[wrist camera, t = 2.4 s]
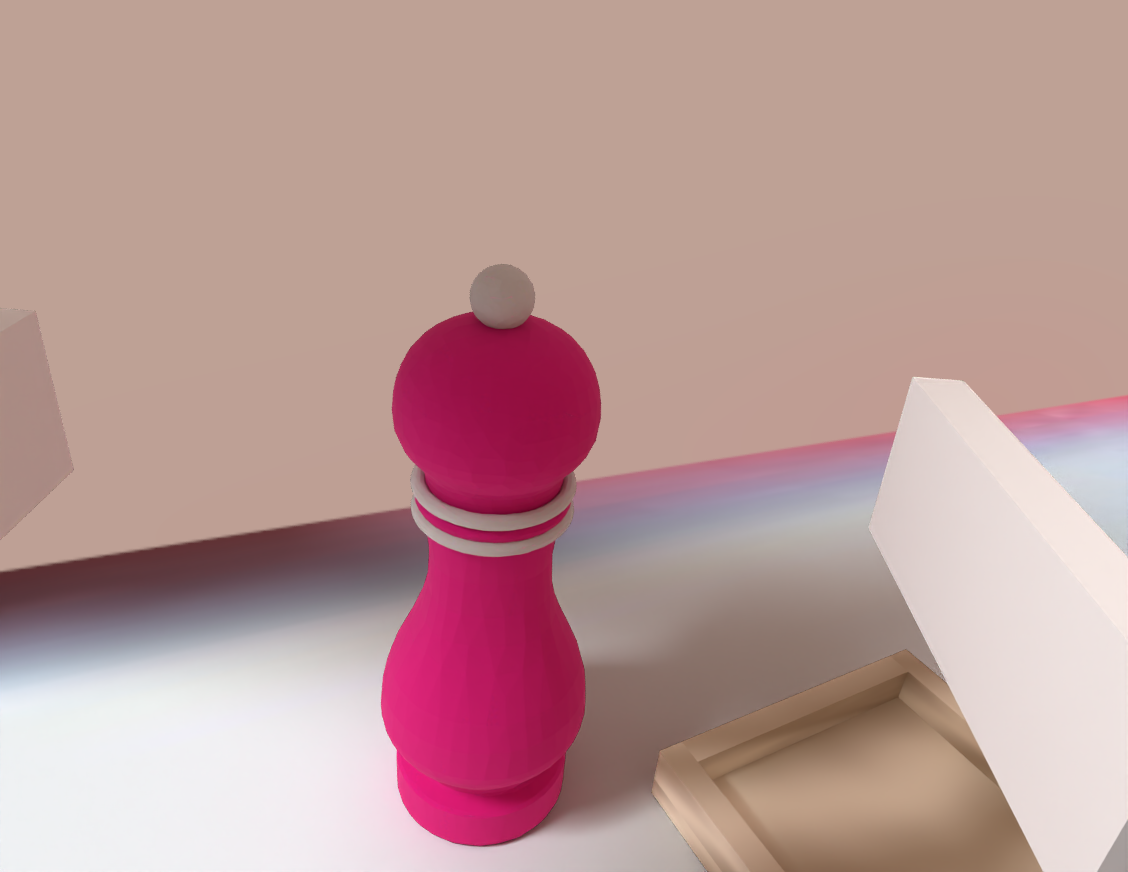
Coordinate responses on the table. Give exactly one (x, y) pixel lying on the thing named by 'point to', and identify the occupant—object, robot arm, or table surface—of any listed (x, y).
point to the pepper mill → (489, 565)
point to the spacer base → (845, 783)
